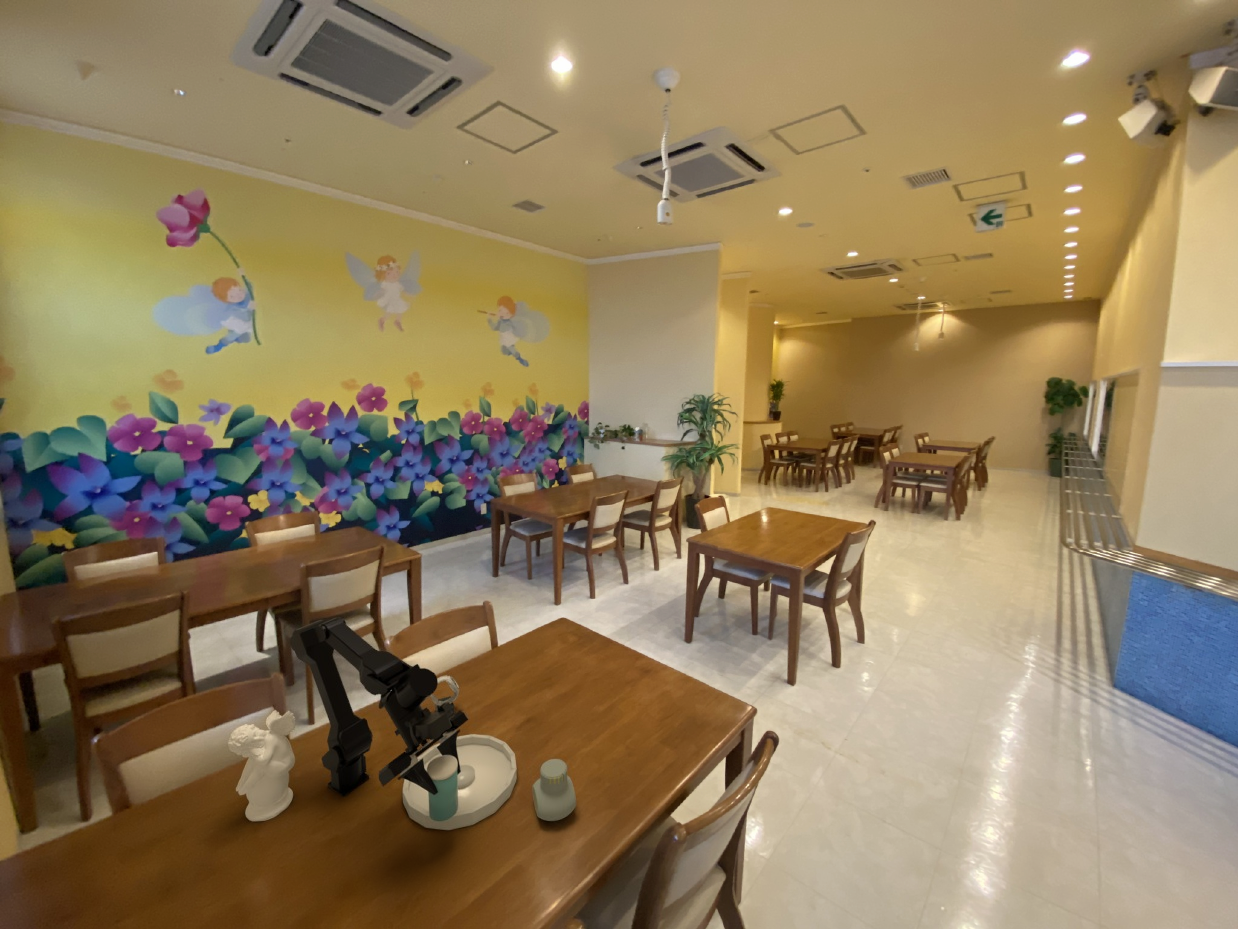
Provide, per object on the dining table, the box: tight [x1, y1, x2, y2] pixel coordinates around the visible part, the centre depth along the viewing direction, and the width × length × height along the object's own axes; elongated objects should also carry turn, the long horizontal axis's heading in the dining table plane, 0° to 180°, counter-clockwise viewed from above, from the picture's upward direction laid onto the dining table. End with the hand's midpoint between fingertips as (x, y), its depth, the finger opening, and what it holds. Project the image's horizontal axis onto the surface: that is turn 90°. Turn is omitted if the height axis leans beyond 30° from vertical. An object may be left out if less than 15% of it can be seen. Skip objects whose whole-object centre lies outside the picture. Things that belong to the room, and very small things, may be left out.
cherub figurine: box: [227, 709, 296, 822], centre depth 109 cm, size 12×12×22 cm
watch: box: [429, 675, 460, 712], centre depth 140 cm, size 6×8×11 cm
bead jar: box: [427, 755, 458, 821], centre depth 100 cm, size 6×6×10 cm
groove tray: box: [402, 733, 518, 831], centre depth 116 cm, size 25×25×3 cm
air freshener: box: [531, 758, 577, 822], centre depth 109 cm, size 11×8×10 cm
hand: (448, 783), depth 99 cm, fingers closed on bead jar, 6 cm apart
